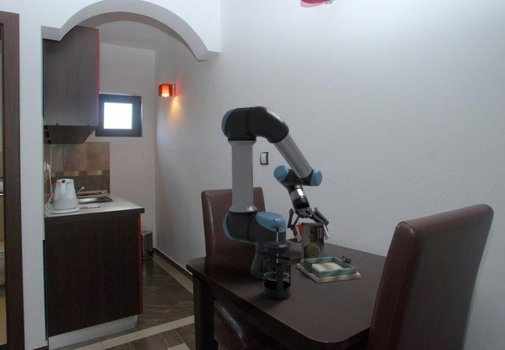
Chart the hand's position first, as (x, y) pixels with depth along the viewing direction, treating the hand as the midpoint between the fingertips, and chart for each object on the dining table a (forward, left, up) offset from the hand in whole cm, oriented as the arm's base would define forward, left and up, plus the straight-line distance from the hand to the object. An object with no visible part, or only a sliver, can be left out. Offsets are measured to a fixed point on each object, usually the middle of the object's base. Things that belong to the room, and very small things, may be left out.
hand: (313, 239), depth 154 cm
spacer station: (-3, -17, -9) cm, 19 cm away
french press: (-30, -32, -9) cm, 44 cm away
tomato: (+10, +33, -9) cm, 36 cm away
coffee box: (-1, 0, -9) cm, 9 cm away
